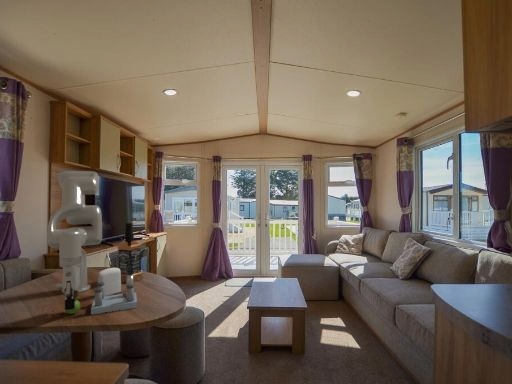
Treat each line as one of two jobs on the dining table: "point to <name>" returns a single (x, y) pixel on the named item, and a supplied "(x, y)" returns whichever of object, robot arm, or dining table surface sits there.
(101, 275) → the photo printer
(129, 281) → the hinged leg
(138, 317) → the dining table surface
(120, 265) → the whiskey bottle
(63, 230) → the robot arm
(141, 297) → the dining table surface
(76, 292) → the snail figurine
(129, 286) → the stool frame
